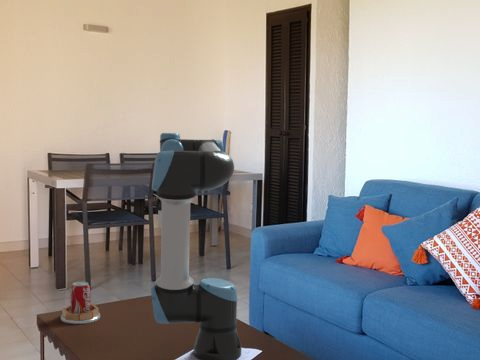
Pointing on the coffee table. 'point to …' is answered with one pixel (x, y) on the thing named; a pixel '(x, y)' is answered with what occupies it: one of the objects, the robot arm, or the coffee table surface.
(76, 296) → the soda can
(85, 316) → the round wooden tray
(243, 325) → the coffee table surface
